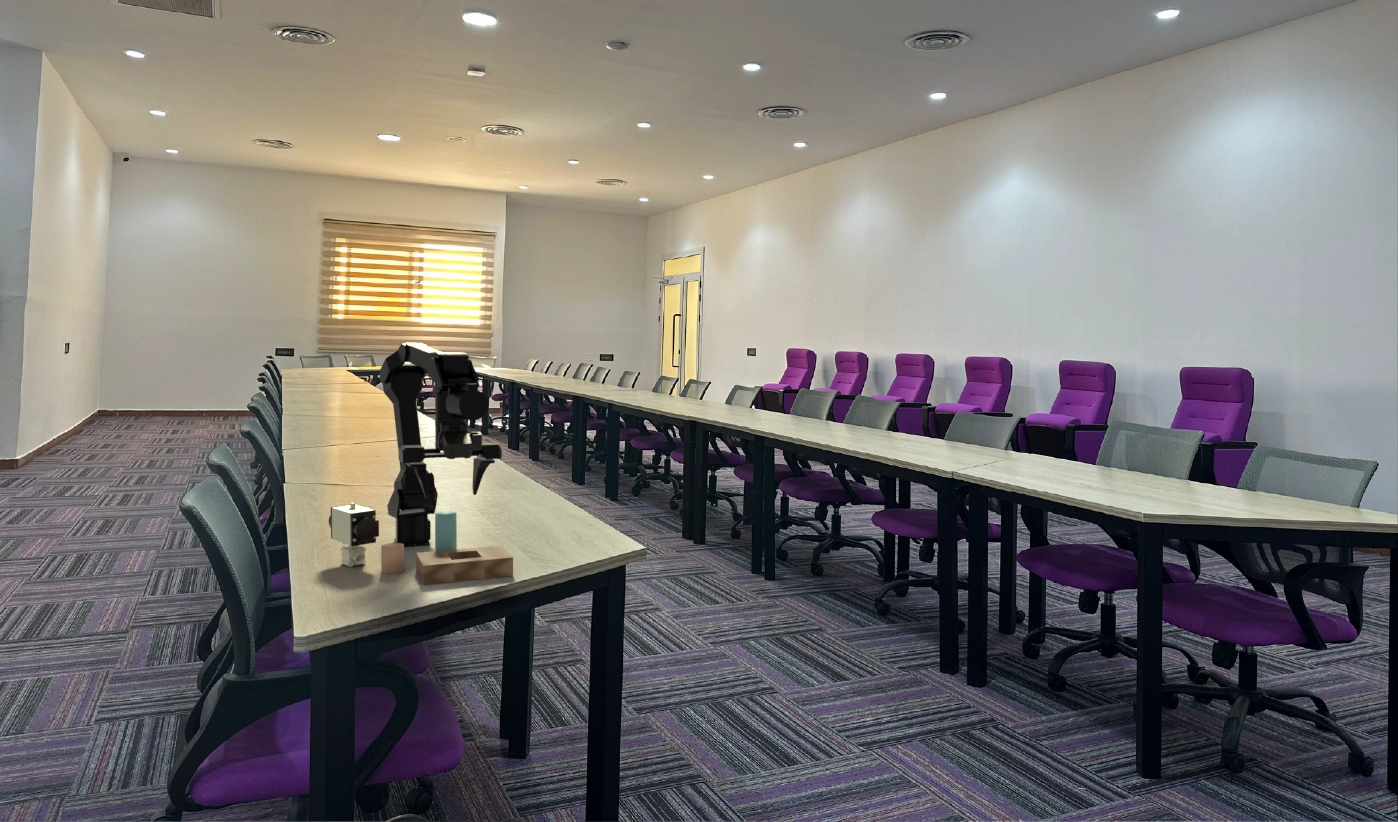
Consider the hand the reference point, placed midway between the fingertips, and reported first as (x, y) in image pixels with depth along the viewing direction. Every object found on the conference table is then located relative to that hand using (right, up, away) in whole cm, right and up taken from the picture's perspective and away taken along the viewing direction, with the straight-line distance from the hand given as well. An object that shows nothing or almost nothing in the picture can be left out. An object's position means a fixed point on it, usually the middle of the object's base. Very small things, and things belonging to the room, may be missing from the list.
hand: (450, 496), depth 161 cm
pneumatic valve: (-18, -13, -2) cm, 22 cm away
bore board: (+5, -14, -7) cm, 16 cm away
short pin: (-9, -14, -6) cm, 17 cm away
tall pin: (-1, -13, 0) cm, 13 cm away
